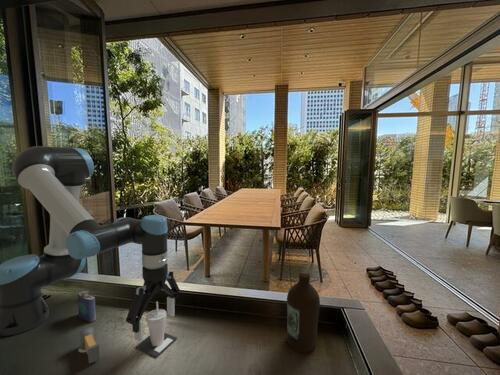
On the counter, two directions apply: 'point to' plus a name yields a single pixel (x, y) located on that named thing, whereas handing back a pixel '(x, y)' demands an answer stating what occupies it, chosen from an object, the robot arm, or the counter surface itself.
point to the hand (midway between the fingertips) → (155, 326)
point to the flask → (86, 307)
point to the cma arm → (89, 344)
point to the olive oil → (302, 314)
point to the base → (83, 350)
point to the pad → (156, 350)
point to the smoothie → (156, 325)
